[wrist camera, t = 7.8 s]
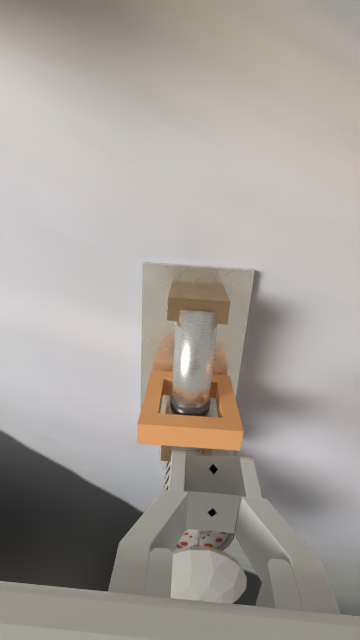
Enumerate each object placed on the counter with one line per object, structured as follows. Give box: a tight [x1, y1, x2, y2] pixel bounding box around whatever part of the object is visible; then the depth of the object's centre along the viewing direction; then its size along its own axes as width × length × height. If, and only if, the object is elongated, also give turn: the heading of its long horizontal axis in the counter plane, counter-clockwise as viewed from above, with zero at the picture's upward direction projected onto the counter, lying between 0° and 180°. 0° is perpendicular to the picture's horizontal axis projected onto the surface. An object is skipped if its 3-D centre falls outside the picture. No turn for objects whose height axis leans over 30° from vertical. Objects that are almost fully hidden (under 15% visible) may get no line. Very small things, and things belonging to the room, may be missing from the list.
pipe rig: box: [141, 262, 255, 462], centre depth 29 cm, size 11×19×8 cm, turn 177°
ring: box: [137, 370, 244, 451], centre depth 28 cm, size 9×2×9 cm, turn 87°
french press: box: [159, 447, 247, 604], centre depth 26 cm, size 10×12×25 cm
